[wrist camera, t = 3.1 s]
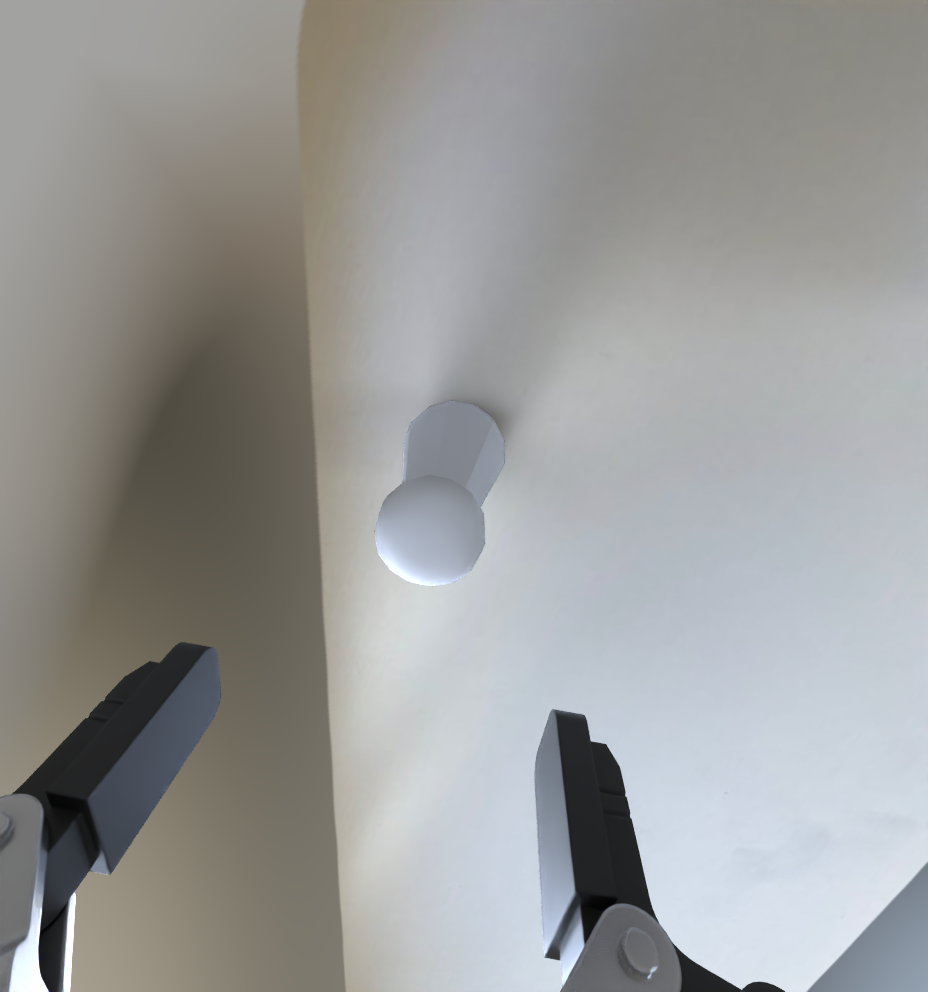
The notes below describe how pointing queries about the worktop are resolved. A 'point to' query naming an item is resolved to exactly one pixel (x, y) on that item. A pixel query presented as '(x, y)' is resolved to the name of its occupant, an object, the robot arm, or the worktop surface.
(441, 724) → the worktop surface
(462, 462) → the salt shaker
